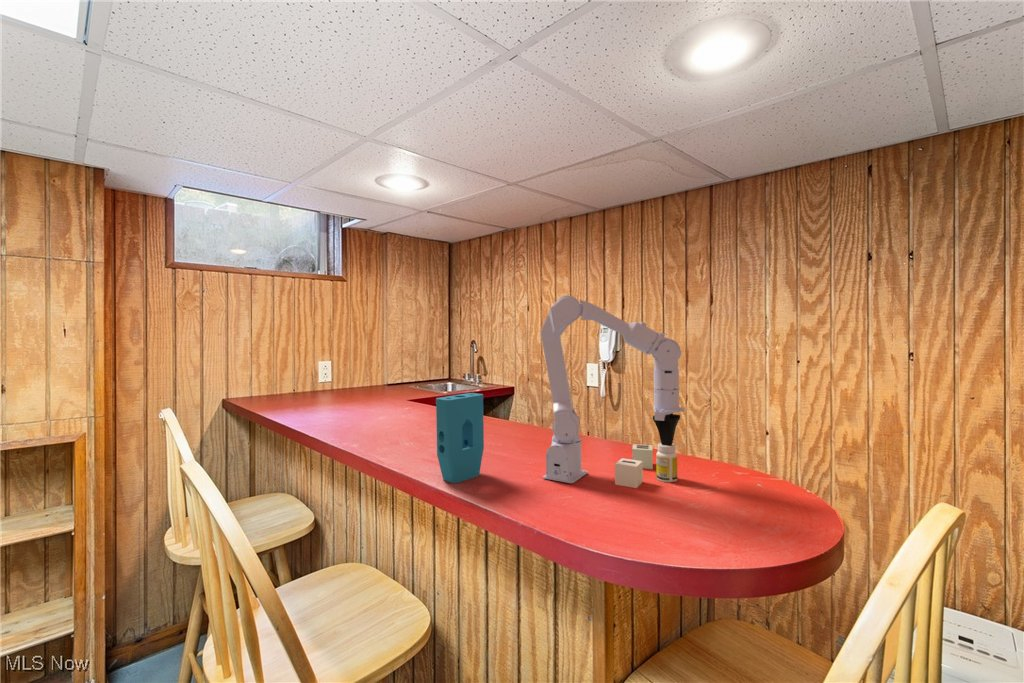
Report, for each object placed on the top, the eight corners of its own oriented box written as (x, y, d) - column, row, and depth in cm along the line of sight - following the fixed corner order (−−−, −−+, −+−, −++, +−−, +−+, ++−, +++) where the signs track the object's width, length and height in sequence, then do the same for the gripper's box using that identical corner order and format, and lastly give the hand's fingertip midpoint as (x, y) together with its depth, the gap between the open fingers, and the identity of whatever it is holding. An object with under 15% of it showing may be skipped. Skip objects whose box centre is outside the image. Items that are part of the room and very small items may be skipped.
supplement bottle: (672, 476, 112) (672, 442, 112) (680, 482, 108) (680, 447, 107) (653, 476, 112) (653, 442, 112) (660, 483, 108) (660, 447, 107)
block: (449, 485, 107) (448, 400, 107) (435, 481, 111) (434, 398, 110) (485, 473, 116) (484, 394, 116) (472, 469, 119) (471, 392, 119)
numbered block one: (636, 488, 104) (636, 465, 104) (615, 484, 107) (615, 462, 107) (642, 482, 109) (642, 460, 108) (621, 478, 111) (621, 457, 111)
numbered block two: (652, 469, 118) (652, 449, 118) (632, 468, 119) (632, 448, 119) (652, 464, 123) (652, 444, 123) (633, 462, 124) (633, 443, 124)
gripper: (677, 393, 101) (677, 454, 102) (689, 385, 113) (690, 440, 114) (645, 391, 105) (645, 451, 105) (660, 384, 117) (661, 437, 118)
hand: (666, 445), depth 110 cm, fingers closed, pressing on supplement bottle
